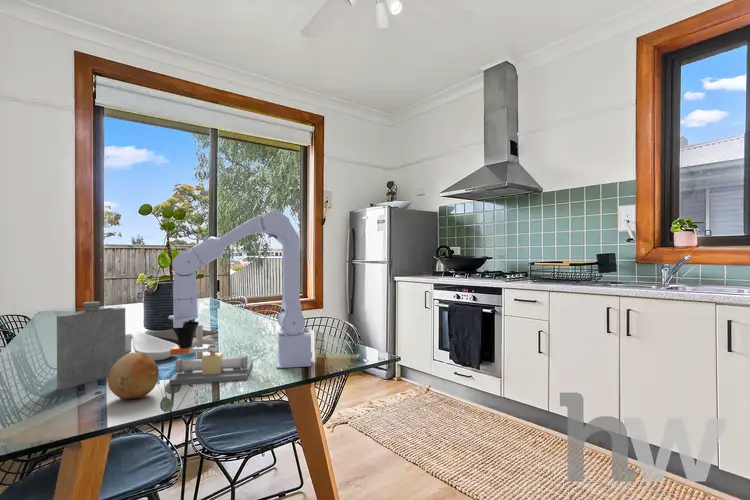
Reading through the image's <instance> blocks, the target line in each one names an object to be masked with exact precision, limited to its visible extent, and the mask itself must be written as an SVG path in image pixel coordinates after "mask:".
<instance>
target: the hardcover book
mask: <svg viewBox="0 0 750 500" xmlns="http://www.w3.org/2000/svg"><path fill="white" fill-rule="evenodd" d="M145 334H148V335H151V336H154V337H157V338H159V339H162V340H165V341H169V342H172V343H175V344H177V345H178V346H180V345H179V341H178V338H177V335H176V333H175V331H174V330H173V328H171V329H170V328H169V329H165V330H159V331H153V332H146V333H145ZM218 334H220V332H219V331H213V330H208V329H207V330H205V329H203V337H205V336H208V335H210V336H211V337H212V339H215V338H218ZM193 338H196V330H195V333H194V337H193Z"/></svg>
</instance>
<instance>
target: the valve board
mask: <svg viewBox="0 0 750 500" xmlns="http://www.w3.org/2000/svg"><path fill="white" fill-rule="evenodd" d="M203 354H204V355H203V357H202V358H195V359H184V358H177V359H176V360H175V366H174V367H175V374H174V375H173V376H172V377H171V378H170V379H169V385H170V386H172V385H173V386H175V385H186V384H188V385H189V384H190V385H191V384H202V383H217V382H219V383H220V382H231V381H232V382H234V381H246V380H247V379H248V377H249V375H248V374H250V372H251V369H252V367H253V362H254V361H253V360H249V356H248V355H247V354H246V355H242V356H232V357H231V356H230V357H229V356H228V357H224V352H206V353H205V352H204V353H203Z"/></svg>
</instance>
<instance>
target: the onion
mask: <svg viewBox="0 0 750 500" xmlns="http://www.w3.org/2000/svg"><path fill="white" fill-rule="evenodd" d="M159 371H160V370H159V366H158V364H157V363H156V361H154V360H153V359H152V358H151V357H150V356H149V355H147V354H144V353H136V352H127V353H126V355H124V356H123V357H122V358H120V359H119V360H118V361H117V362H116V363H115V364H114V365H113V366H112V368H111V370H110V373H109V376H108V377H107V385H108V388H109V390H110V391H111V393H112V394H113V395H115V396H116V397H117V398H119V399H121V400H130V399H140V398H144V397H146V396H147V395H148V394H150V393H151V392H152V391H153V390H154V388H156V386H157V382H158V379H159V375H160V374H159V373H160V372H159Z"/></svg>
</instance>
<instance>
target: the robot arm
mask: <svg viewBox="0 0 750 500" xmlns="http://www.w3.org/2000/svg"><path fill="white" fill-rule="evenodd" d="M261 233H264V234H266V235H268V236H270V237H272V238H274V239H275V240H276V241H277V242H278V243H280V244H281V246H282V288H281V289H282V300H281V304H280V312H279V314H278V315H277V322H278V325H279V326H280V329H279V331H278V336H277V337H278V342H277V343H278V347H277V348H278V349H277V350H278V359H277V363H276V369H286V368H299V367H300V368H301V367H304V368H305V367H311V366H312V358H313V352H312V336H311V335H312V334H311V332H305V330H304V328H305V325H306V320H305V317H304V315H303V311H302V307H303V306H302V304H301V300H300V299H301V298H300V297H301V296H300V294H301V293H300V292H301V289H300V288H301V287H300V284H301V281H300V280H301V278H300V277H301V273H300V271H301V270H300V269H301V267H300V266H301V264H300V263H301V261H300V259H301V258H300V257H301V248H300V247H301V239H300V236H299V234H298V232H297V231H296V230H295V228H294V226H293V225H292V222H291V220H290V218H289V217H287V215H285V214H284V213H282V212H281V211H280V210H270V211H267V212H266V213H265V214H259V215H257V216H255V217H253V218H250V219H249V220H247V221H245V222H243V223H241V224H240V225H238V226H236V227H235V228H234V229H231V230H230V231H229V232H227V233H225V234H223V235H222V236H220V237H216V236H210V237H207V236H205V237H203V238H202V239H201V240H202V241H201V242H199V243H197V244H195V245H194V246H192V247H186V248H185V251H186V252H185V251H184V252H179V253H178V254H177V255H176V256H175V257H174V258H173V260H172V263H171V266H172V270H173V271H174V273H173V281H172V290H173V291H172V297H173V299H172V300H173V302H172V303H173V307H172V308H173V310H172V311H173V315H169V316H168V320H172V323H173V324H172V325H171V326H172V328H171V329H173V330H174V331H175V333H176V335H177V338H178V341H179V345H178V346H179V347H191V348H193V347H192V342H193V337H194V333H195V330H196V328H197V326H198V325H200V324H199V321H193V320H196V319H199V314H198V280H197V269H198V267H205V266H206V265H208V264H209V263H211V262H213V261H215V260H216V259H218V258H220V257H221V256H223V255H224V254H225V249H226V248H227V247H228V246H231V245H232V244H235V243H236V242H238V241H240V240H241V239H244V238H245V237H247V236H249V235H250V234H251V235H252V234H261Z"/></svg>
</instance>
